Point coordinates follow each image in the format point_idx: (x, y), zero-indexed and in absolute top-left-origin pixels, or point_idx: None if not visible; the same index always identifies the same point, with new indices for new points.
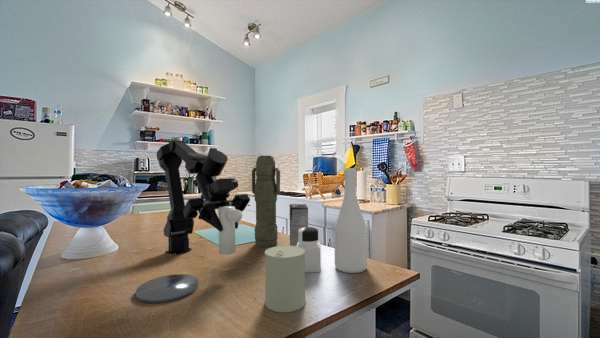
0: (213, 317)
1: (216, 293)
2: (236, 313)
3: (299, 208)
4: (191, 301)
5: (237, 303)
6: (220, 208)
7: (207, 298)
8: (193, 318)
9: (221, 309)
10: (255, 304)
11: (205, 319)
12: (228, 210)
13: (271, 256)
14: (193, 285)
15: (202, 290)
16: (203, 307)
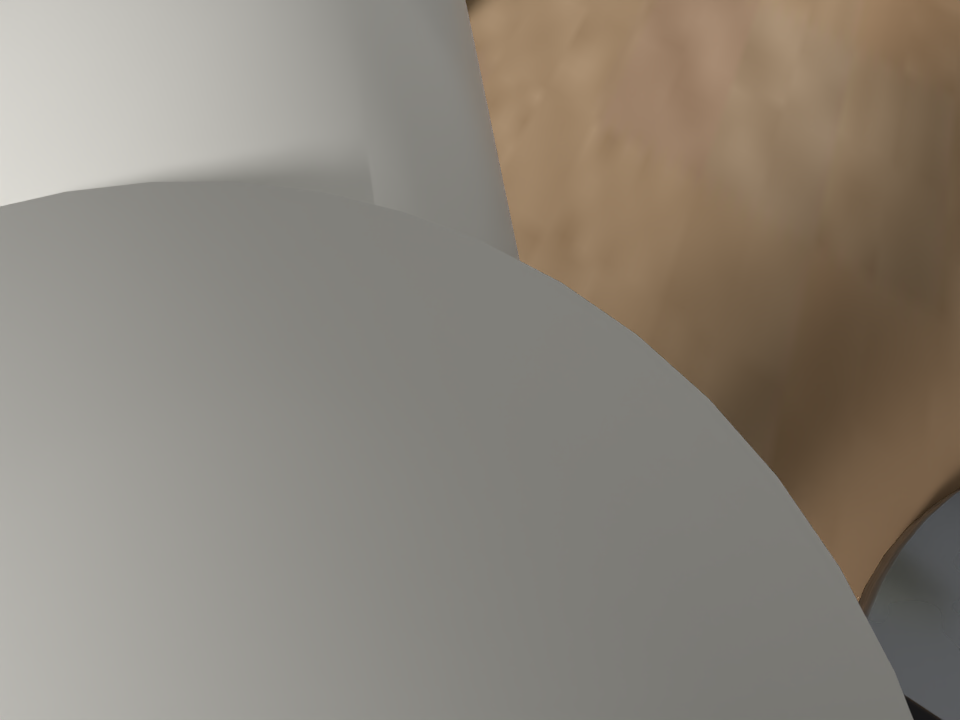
0: (817, 52)
1: (707, 381)
2: (665, 22)
3: None
4: (939, 355)
5: (610, 132)
6: (864, 657)
7: (802, 332)
8: (946, 105)
9: (741, 115)
10: (504, 57)
11: (870, 56)
12: (371, 159)
13: None
14: (922, 570)
15: (815, 524)
16: (858, 207)
